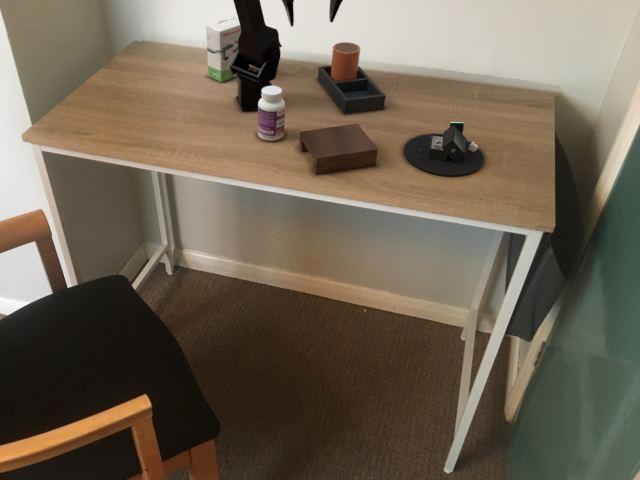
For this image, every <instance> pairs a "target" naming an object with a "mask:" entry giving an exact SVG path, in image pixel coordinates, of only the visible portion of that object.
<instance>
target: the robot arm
mask: <svg viewBox="0 0 640 480" xmlns="http://www.w3.org/2000/svg"><path fill="white" fill-rule="evenodd" d="M281 2H282V4H283V7H284V10H285V13H286V16H287V20H288V22H289V25H290V27H294V22H295V14H294V13H295V12H294V10H295V9H294V3H295V0H281ZM343 2H344V0H329V10H328V11H329V13H328V16H329V19H328V20H329V22H330V23H333V22H334V21H335V18H336V16H337V14H338V11H339V9H340V6H341V5H342V3H343ZM233 4H234V9H235V11H236V15H237V18H238V19H239V23H240V27H241V33H240V36H239V39H238V48H239V49H238V51H237V53H236V55H235V57H234V59H233V60H232V62H231V64H230V70H231V73H232V74H235V75H237V76H236V77H237V96H235V100H236V102H237V104H238V105H239V107H240V110H241V111H242V112H251V111H258V102H259V100H260V99H261V98H262V96H261V94H262V89H263V88H264V87H266V86H273V85H272V84H273V83H272V81H273V80H275V79H276V76H277V72H278V69H279V65H280V60H281V48H283V46H282V44H281V41H280V35H279V31H278V29H277V28H274V27H271V26H268V25H267V24H266V20H265V17H264V14H263V9H262V3H261V0H233Z"/></svg>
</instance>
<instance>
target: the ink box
mask: <svg viewBox="0 0 640 480" xmlns="http://www.w3.org/2000/svg"><path fill="white" fill-rule="evenodd" d="M205 33H206V53H207V72H208V73H207V75H208V77H209V78H211V79H214V80H216V81H218V82H220V83H223V82H226V81H229V80H231V79H233V78H236V77H238V76H237V75H235V74H232V73H231V70H230V64H231V62H232V60H233V59H234V57H235V55H236V53H237V51H238V49H239V48H238V39H239V36H240V33H241V27H240V23H239V19H238V17H236V16H229V17H226V18H223V19H220V20H216V21H214V22H211V23H207V25H206V26H205Z"/></svg>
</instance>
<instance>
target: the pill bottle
mask: <svg viewBox="0 0 640 480" xmlns="http://www.w3.org/2000/svg"><path fill="white" fill-rule="evenodd" d="M261 96H262V98H261V99H260V100H259V102H258V110H257V135H258V137H259V138H260V139H262V140H264V141H268V142H275V141H278V140H281V139H282V138H283V137H284V135H285V121H286V102H285V100H284V99H283V89H282V88H281V87H280V86H277V85H272V86H266V87H264V88H263V89H262V94H261Z"/></svg>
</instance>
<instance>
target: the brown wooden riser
mask: <svg viewBox="0 0 640 480" xmlns="http://www.w3.org/2000/svg"><path fill="white" fill-rule="evenodd" d="M298 142H299V143H298V148H299V149H300V151H301V152H307V151H308V153H309V154H310V156H311V157H312V159H313V164H312V171H313V173H314V175H321V174H326V173H328V174H329V173H334V172H340V171H347V170H353V169H360V168H367V167H373V166H376V165H377V160H378V159H377V158H378V153H379V148H378V147H377V146H376V144H375V143H374V142H373V141H372V139H371V138H370V137H369V136H368V134H367V133H366V132H365V131H364V129H363V128H362V127H361V125H360V124H359V123H353V124H351V123H350V124H346V125H339V126H338V125H337V126H330V127H323V128H315V129H308V130H302V131H299V141H298Z"/></svg>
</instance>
